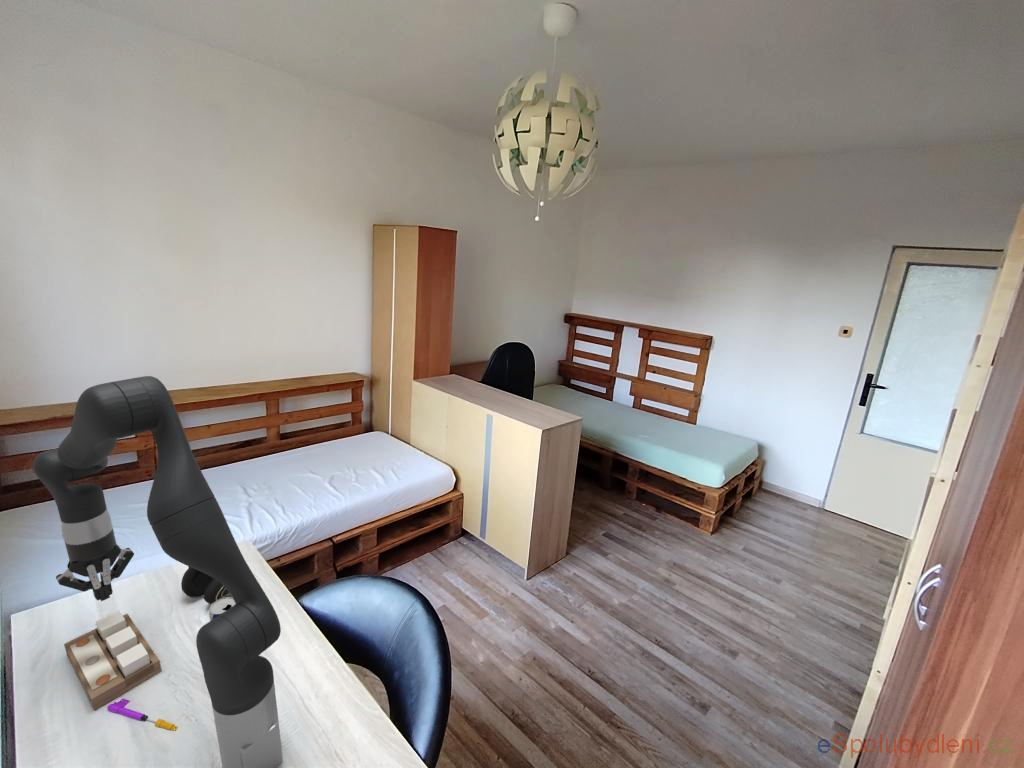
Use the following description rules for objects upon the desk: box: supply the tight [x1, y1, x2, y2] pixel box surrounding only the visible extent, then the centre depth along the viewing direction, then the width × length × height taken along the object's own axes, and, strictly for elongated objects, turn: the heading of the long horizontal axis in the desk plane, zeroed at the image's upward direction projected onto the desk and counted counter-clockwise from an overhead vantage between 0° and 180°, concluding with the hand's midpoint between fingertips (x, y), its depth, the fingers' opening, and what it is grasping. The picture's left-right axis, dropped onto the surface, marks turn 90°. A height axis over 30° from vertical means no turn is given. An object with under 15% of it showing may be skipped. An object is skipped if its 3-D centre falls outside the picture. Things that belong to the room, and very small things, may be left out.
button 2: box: [116, 643, 150, 678], centre depth 94 cm, size 4×4×3 cm
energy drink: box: [208, 596, 236, 622], centre depth 101 cm, size 5×5×12 cm
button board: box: [63, 613, 163, 711], centre depth 97 cm, size 20×11×4 cm, turn 55°
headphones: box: [180, 566, 231, 605], centre depth 114 cm, size 9×15×20 cm, turn 74°
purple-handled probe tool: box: [107, 698, 179, 731], centre depth 87 cm, size 3×1×16 cm
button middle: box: [105, 626, 138, 659], centre depth 97 cm, size 4×4×3 cm
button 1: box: [95, 610, 127, 641], centre depth 101 cm, size 4×4×3 cm
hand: (104, 597), depth 99 cm, fingers closed
